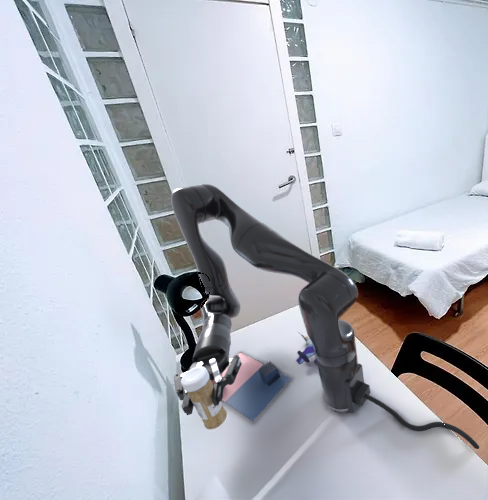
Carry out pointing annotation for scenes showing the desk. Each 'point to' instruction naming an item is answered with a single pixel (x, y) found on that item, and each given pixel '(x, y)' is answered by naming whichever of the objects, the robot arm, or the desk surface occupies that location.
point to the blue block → (269, 373)
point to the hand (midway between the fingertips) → (201, 406)
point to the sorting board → (251, 388)
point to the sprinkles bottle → (203, 397)
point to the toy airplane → (306, 351)
